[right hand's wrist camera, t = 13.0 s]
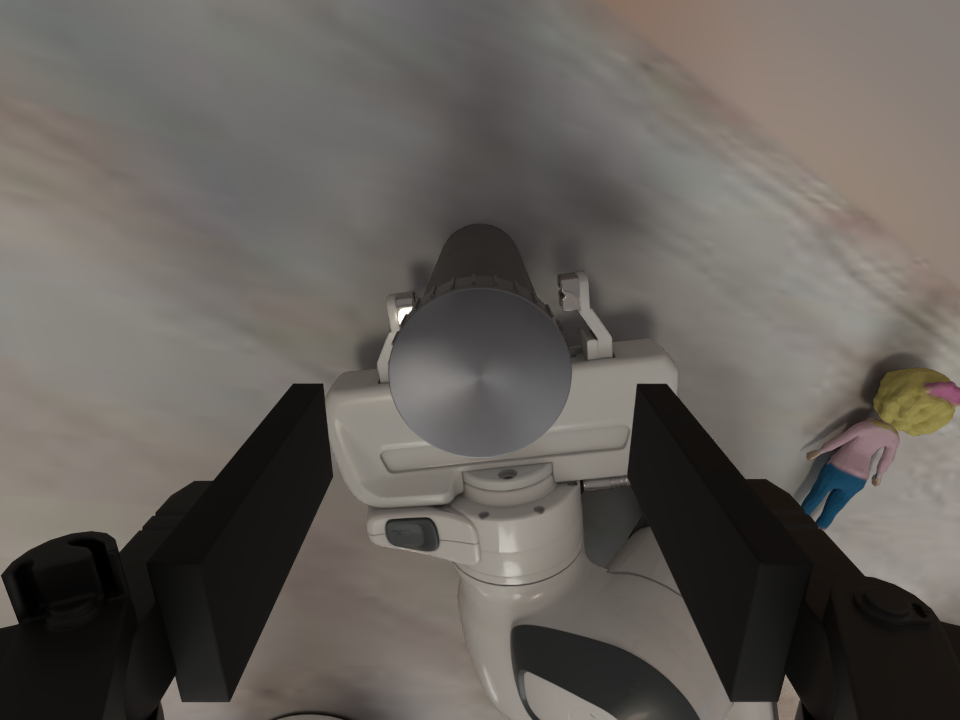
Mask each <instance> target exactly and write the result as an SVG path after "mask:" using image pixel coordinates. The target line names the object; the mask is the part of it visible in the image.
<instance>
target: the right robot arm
mask: <svg viewBox="0 0 960 720" xmlns="http://www.w3.org/2000/svg"><path fill="white" fill-rule="evenodd" d="M332 478H333V471H332V462H331V452H330V443H329V434H328V424H327V415H326V406H325V396H324V387H323V384H293V385H292V386H291V387H290V388H289V389H288V391H287V392H286V393H285V394H284V395H283V397H282V398H281V399H280V400H279V402H278V403H277V404H276V405H275V406H274V408H273V409H272V410H271V411H270V413H269V414H268V415H267V416H266V417H265V419H264V420H263V421H262V422H261V423H260V425H259V426H258V427H257V428H256V430H255V431H254V432H253V433H252V434H251V436H250V437H249V438H248V439H247V441H246V442H245V443H244V444H243V445H242V447H241V448H240V449H239V450H238V451H237V453H236V454H235V455H234V456H233V458H232V459H231V460H230V461H229V462H228V464H227V465H226V466H225V467H224V468H223V470H222V471H221V472H220V473H219V475H218V476H217V477H216V478H215V479H214V481H194V482H192V483H190V484H189V485H187V486H186V487H184V488H182V489H181V490H179V491H178V492H176V493H174V494H173V495H171V496H170V497H169V498H168V500H167V501H166V502H165V503H164V504H163V505H162V506H161V507H160V508H159V509H158V511H157V512H156V515H155V516H152V517H151V518H150V519H149V520H148V522H147V523H146V524H145V525H144V526H143V529H142V531H138V533H137V534H136V535H135V536H134V537H133V538H132V539H131V540H130V541H129V542H128V543H127V545H126V546H125V547H124V548H123V549H122V550H121V551H120V552H119V551H118V547H117V544H116V540H115V539H114V538H113V537H111V536H110V535H108V534H107V533H101V532H94V531H89V532H81V533H73V534H69V535H66V536H62V537H59V538H56V539H52V540H50V541H47V542H45V543H43V544H41V545H39V546H37V547H35V548H33V549H31V550H29V551H27V552H26V553H25V554H23V555H22V556H20V557H19V558H17V559H16V560H15V561H13V562H12V563H11V564H10V565H9V566H8V568H7V569H6V570H5V571H4V572H3V574H2V575H1V577H2V580H3V582H4V585H5V588H6V590H7V593H8V596H9V598H10V601H11V604H12V606H13V609H14V612H15V614H16V617H17V620H18V622H19V624H17V625H13V626H9V627H5V628H0V720H164V714H163V709H162V705H161V699H162V697H163V695H164V694H165V692H166V690H167V689H168V687H169V685H170V684H171V682H172V680H173V678H174V677H176V681H177V685H178V689H179V693H180V696H181V700H182V702H230V700H231V698H232V696H233V694H234V691H235V689H236V687H237V685H238V683H239V681H240V678H241V676H242V674H243V672H244V670H245V667H246V665H247V663H248V661H249V659H250V657H251V654H252V652H253V650H254V648H255V646H256V644H257V641H258V639H259V637H260V635H261V633H262V630H263V628H264V626H265V624H266V622H267V620H268V617H269V615H270V613H271V611H272V609H273V606H274V604H275V602H276V600H277V598H278V596H279V593H280V591H281V589H282V587H283V585H284V582H285V580H286V578H287V576H288V574H289V572H290V569H291V567H292V565H293V563H294V561H295V559H296V556H297V554H298V552H299V550H300V548H301V545H302V543H303V541H304V539H305V537H306V535H307V532H308V530H309V528H310V526H311V524H312V521H313V519H314V517H315V515H316V513H317V511H318V508H319V506H320V504H321V502H322V500H323V497H324V495H325V493H326V491H327V489H328V487H329V484H330V482H331V480H332ZM627 478H628V480H629V482H630V484H631V487H632V489H633V491H634V493H635V495H636V497H637V500H638V502H639V504H640V506H641V508H642V511H643V513H644V515H645V517H646V519H647V521H648V524H649V526H650V528H651V530H652V532H653V535H654V537H655V539H656V541H657V543H658V545H659V548H660V550H661V552H662V554H663V556H664V559H665V561H666V563H667V565H668V567H669V569H670V572H671V574H672V576H673V578H674V580H675V582H676V585H677V587H678V589H679V591H680V593H681V596H682V598H683V600H684V602H685V604H686V606H687V609H688V611H689V613H690V615H691V617H692V620H693V622H694V624H695V626H696V628H697V630H698V633H699V635H700V637H701V639H702V641H703V644H704V646H705V648H706V650H707V652H708V654H709V657H710V659H711V661H712V663H713V665H714V667H715V670H716V672H717V674H718V676H719V678H720V681H721V683H722V685H723V687H724V689H725V691H726V694H727V696H728V698H729V700H730V702H778V700H779V696H780V693H781V689H782V685H783V681H784V677H785V674H786V676H787V677H788V679H789V681H790V682H791V684H792V686H793V687H794V689H795V691H796V693H797V694H798V696H799V698H800V701H799V705H798V709H797V712H796V716H795V719H794V720H960V626H957V625H953V624H949V623H945V622H941V621H940V620H939V619H938V617H937V616H936V615H935V613H934V612H933V610H932V609H931V608H930V607H929V606H927V605H926V604H925V603H924V602H922V601H921V600H920V599H919V598H917V597H916V596H915V595H913V594H911V593H909V592H908V591H906V590H904V589H902V588H900V587H898V586H896V585H894V584H892V583H889V582H886V581H883V580H880V579H877V578H873V577H866V576H864V575H863V574H862V573H861V571H860V570H859V569H858V568H857V567H856V566H855V565H854V564H853V563H852V562H851V561H850V559H849V558H848V557H847V556H846V555H845V554H844V553H843V552H842V551H841V550H840V549H839V547H838V546H837V545H836V544H835V543H834V542H833V541H832V540H831V539H830V538H829V537H828V535H827V534H826V533H825V532H824V531H823V530H822V529H818V525H817V523H816V522H815V521H814V520H813V519H812V518H811V517H810V516H809V515H808V514H805V510H804V509H803V508H802V507H801V506H800V505H799V504H798V503H797V502H796V501H795V499H794V498H793V497H792V496H791V495H790V494H789V493H787V492H786V491H784V490H782V489H781V488H779V487H778V486H776V485H774V484H773V483H771V482H770V481H768V480H766V479H745V478H744V477H743V476H742V475H741V473H740V472H739V471H738V470H737V468H736V467H735V466H734V465H733V464H732V462H731V461H730V460H729V459H728V458H727V456H726V455H725V454H724V453H723V451H722V450H721V449H720V448H719V447H718V445H717V444H716V443H715V442H714V441H713V439H712V438H711V437H710V436H709V434H708V433H707V432H706V431H705V430H704V428H703V427H702V426H701V425H700V423H699V422H698V421H697V420H696V419H695V417H694V416H693V415H692V414H691V413H690V411H689V410H688V409H687V408H686V406H685V405H684V404H683V403H682V402H681V400H680V399H679V398H678V397H677V395H676V394H675V393H674V392H673V391H672V389H671V388H670V387H669V386H668V385H667V384H637V387H636V396H635V406H634V415H633V424H632V434H631V443H630V452H629V462H628V471H627Z"/></svg>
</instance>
